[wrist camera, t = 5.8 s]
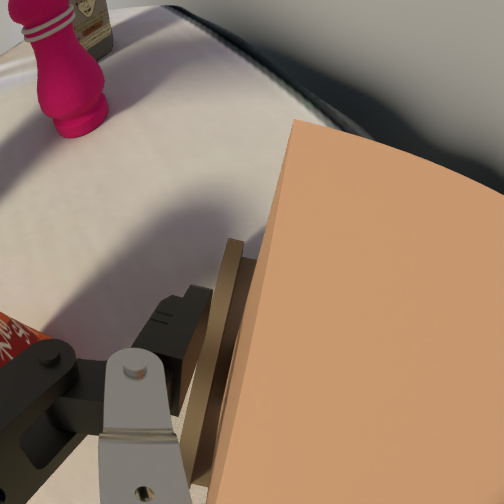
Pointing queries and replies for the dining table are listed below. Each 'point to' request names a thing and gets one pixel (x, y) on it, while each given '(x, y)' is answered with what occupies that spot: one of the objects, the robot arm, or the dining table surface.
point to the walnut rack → (215, 364)
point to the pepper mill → (62, 66)
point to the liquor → (92, 26)
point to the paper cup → (16, 338)
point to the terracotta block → (368, 336)
